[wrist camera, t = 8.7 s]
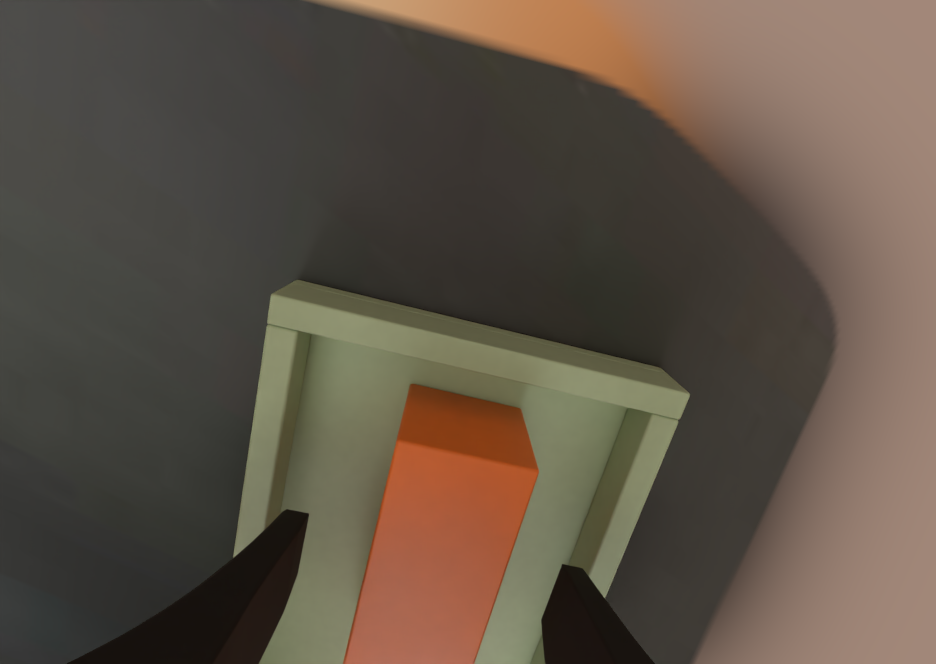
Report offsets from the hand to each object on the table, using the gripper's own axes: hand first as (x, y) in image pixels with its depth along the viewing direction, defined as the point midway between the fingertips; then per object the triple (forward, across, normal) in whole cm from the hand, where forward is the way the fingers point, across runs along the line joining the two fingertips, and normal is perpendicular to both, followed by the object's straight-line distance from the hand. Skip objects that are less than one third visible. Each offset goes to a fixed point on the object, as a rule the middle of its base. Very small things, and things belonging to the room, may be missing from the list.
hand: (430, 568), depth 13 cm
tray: (+3, 0, +3) cm, 4 cm away
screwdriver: (+2, 0, +3) cm, 4 cm away
